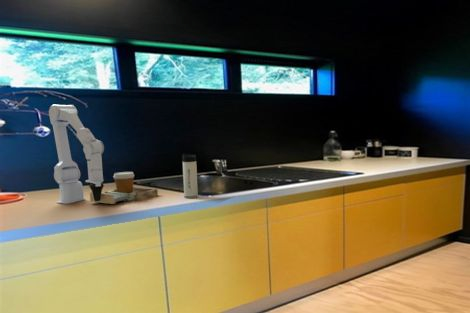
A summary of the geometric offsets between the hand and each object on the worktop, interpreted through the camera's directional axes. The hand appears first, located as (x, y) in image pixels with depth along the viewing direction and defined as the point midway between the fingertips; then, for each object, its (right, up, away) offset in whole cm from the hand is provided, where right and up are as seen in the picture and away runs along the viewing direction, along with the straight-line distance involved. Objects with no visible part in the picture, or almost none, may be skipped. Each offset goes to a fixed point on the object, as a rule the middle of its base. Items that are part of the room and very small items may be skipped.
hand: (97, 200), depth 151 cm
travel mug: (+38, 0, +13) cm, 41 cm away
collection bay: (+9, 0, +17) cm, 19 cm away
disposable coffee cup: (+8, -1, +14) cm, 16 cm away
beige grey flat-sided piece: (+4, -1, +8) cm, 9 cm away
